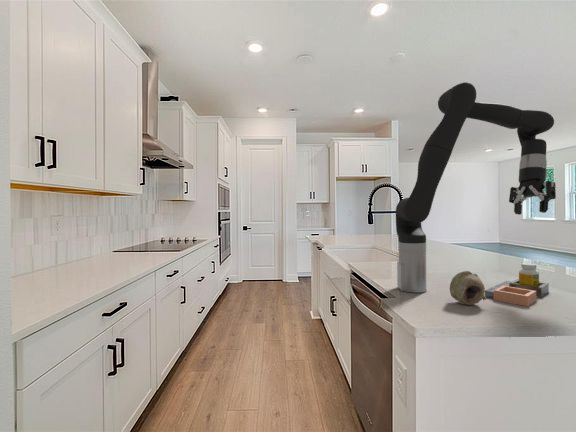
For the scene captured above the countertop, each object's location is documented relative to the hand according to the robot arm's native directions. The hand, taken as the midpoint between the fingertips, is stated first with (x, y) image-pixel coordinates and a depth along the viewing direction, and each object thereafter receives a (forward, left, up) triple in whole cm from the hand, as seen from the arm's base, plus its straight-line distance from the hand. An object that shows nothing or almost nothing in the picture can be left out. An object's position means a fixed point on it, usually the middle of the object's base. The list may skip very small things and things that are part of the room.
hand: (530, 213), depth 104 cm
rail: (-8, -8, -27) cm, 29 cm away
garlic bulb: (-29, -19, -27) cm, 44 cm away
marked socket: (-13, -14, -27) cm, 33 cm away
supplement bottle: (-3, -4, -27) cm, 28 cm away
